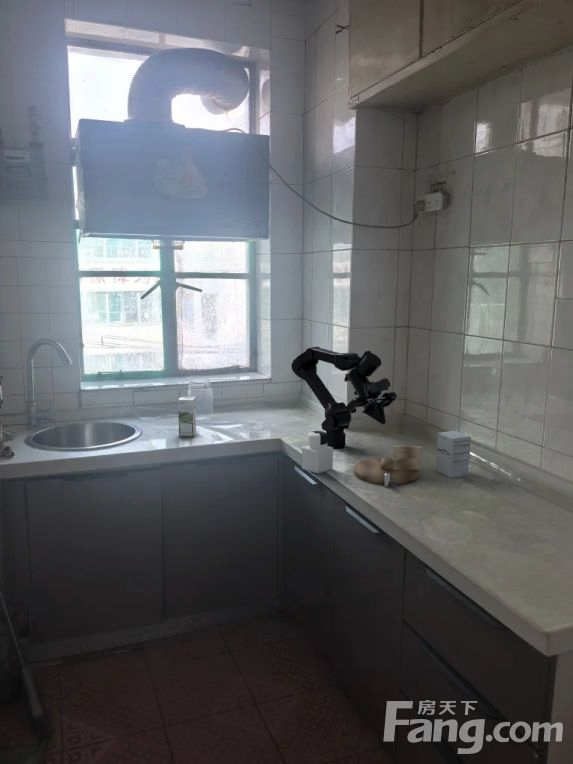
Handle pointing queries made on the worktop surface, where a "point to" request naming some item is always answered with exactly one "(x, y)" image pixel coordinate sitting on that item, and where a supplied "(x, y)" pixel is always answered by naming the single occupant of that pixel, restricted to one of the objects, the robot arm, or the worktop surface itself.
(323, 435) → the medicine bottle
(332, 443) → the robot arm
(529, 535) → the worktop surface
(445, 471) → the supplement box
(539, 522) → the worktop surface
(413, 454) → the walnut flange plate
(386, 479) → the steel dowel
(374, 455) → the worktop surface
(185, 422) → the syrup box
